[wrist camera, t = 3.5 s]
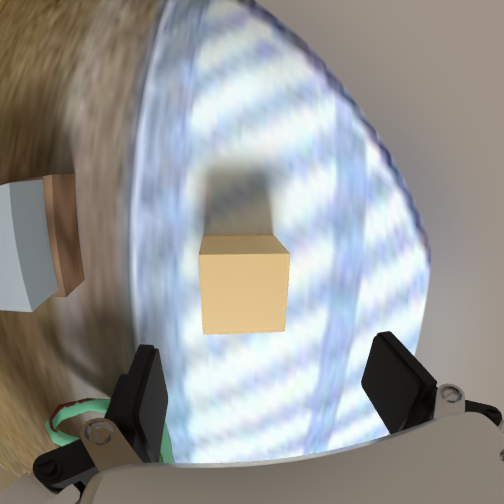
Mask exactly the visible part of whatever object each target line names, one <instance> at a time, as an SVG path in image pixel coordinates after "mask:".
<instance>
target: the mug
mask: <svg viewBox="0 0 504 504" xmlns="http://www.w3.org/2000/svg"><path fill="white" fill-rule="evenodd" d="M110 401H111V400H108V399H95V398H86V399H82V400H78V401H74V402H69V403H65V404H61V405H59V406H58V407H57V408H56V410H55V411H54V412H53V414H52V415H51V416H50V418H49V419H48V420H47V422H46V423H45V426H46V428H47V430H48V433H49V435H50V437H51V439H52V441H53V442H54V443H56V444H58V445H60V446H64V445H66V444H69V443H71V442H73V441H75V440H78V439H80V438H79V437H75V436H71V435H67V434H65V433H63V432H61V431H59V430H57V428H56V427H57V425H58V424H59V423H60V422H61V421H62V420H65V419H67V418H70V417H73V416H76V415H79V414H82V413H85V412H87V411H92V412H107V409H108V406H109V403H110ZM159 462H162V463H175V462H174V458H173V453H172V445H171V439H170V435H169V432H168V428H167V425H166V422H165V423H164V430H163V437H162V444H161V451H160V458H159Z"/></svg>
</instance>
